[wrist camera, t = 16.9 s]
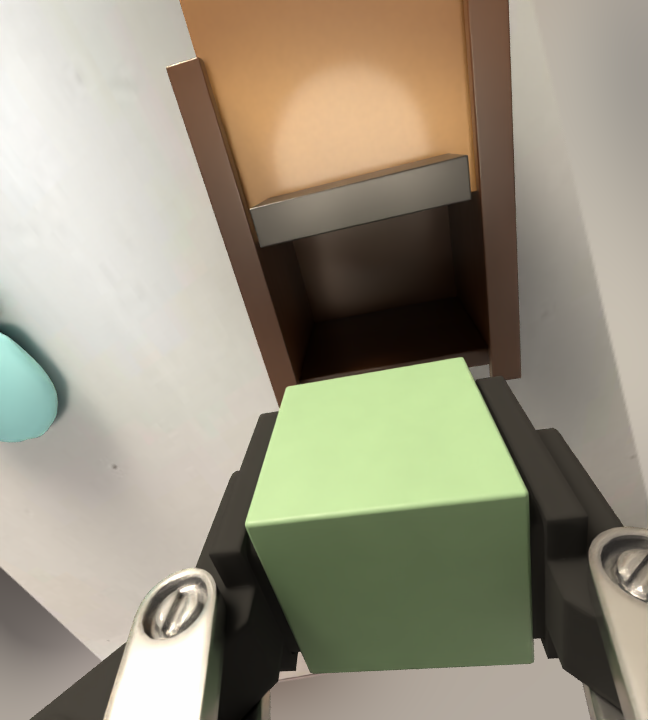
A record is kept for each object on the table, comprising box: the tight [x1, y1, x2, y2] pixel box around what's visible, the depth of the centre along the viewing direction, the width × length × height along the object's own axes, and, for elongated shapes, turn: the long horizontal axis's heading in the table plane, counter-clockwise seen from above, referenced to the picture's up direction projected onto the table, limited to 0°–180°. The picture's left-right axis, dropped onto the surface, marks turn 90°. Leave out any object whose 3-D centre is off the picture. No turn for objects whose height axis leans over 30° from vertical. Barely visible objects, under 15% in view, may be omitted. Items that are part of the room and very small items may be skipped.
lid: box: [179, 0, 477, 248], centre depth 12 cm, size 12×8×3 cm
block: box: [245, 357, 534, 674], centre depth 8 cm, size 4×4×4 cm
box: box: [166, 0, 521, 408], centre depth 19 cm, size 13×10×9 cm
